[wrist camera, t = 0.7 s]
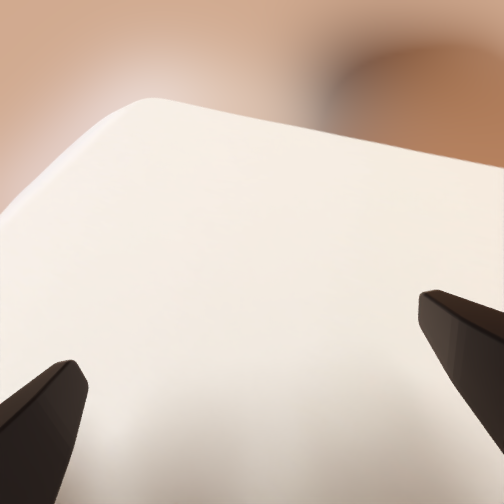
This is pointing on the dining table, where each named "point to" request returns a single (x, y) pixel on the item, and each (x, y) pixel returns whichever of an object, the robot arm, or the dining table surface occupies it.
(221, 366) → the dining table surface
